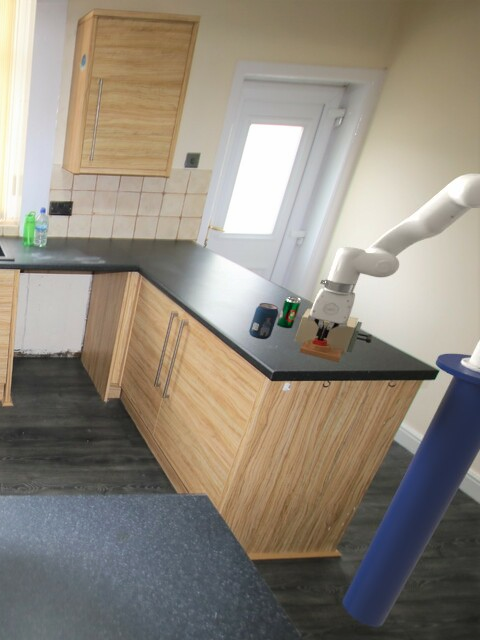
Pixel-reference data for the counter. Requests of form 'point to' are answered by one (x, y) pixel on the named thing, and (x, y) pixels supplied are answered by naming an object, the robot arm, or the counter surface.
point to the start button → (320, 342)
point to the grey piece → (354, 337)
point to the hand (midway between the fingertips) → (320, 339)
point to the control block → (321, 351)
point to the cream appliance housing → (336, 336)
